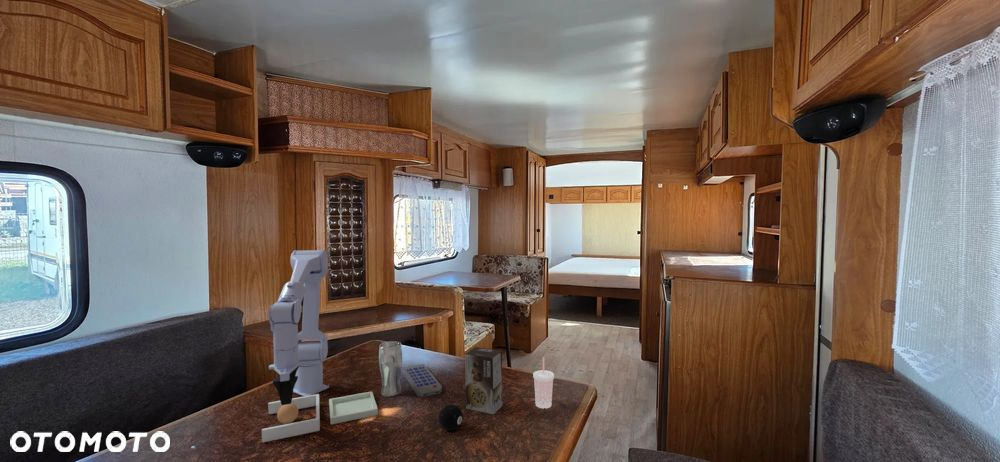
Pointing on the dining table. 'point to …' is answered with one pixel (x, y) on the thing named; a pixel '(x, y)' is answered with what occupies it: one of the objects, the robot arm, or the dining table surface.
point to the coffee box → (483, 380)
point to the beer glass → (390, 367)
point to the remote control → (422, 380)
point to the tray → (352, 407)
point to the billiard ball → (450, 417)
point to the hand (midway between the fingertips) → (287, 397)
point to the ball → (287, 413)
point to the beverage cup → (543, 387)
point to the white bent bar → (296, 427)
